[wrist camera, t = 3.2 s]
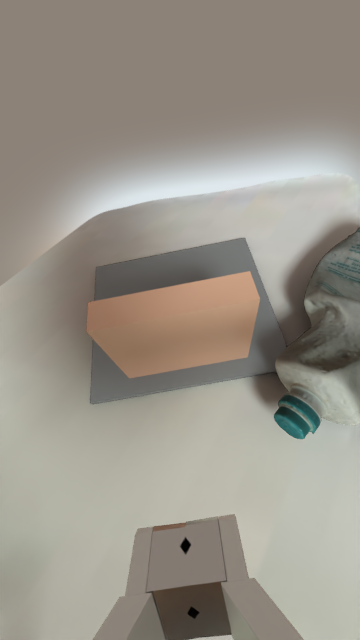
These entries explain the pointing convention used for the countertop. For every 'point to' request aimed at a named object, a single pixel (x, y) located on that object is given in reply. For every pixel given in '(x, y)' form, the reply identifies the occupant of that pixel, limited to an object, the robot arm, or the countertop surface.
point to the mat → (176, 271)
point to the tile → (177, 325)
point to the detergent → (325, 348)
